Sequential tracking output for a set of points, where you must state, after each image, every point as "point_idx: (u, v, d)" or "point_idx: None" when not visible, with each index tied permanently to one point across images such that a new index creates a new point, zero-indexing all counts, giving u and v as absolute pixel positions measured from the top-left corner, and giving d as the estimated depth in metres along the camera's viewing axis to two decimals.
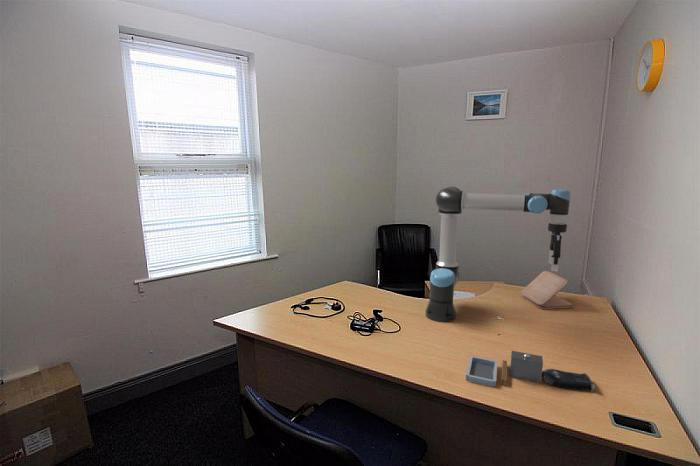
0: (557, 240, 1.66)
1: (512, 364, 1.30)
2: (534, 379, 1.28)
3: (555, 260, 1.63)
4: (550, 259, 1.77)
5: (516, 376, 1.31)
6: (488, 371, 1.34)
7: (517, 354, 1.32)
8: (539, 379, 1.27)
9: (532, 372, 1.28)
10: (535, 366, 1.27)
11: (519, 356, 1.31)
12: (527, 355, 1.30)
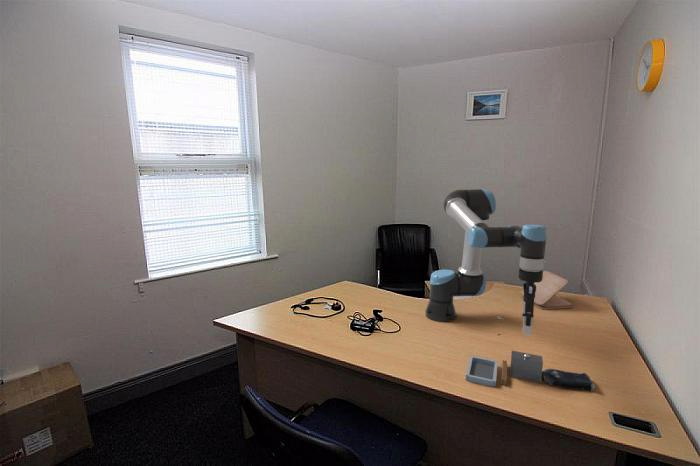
0: None
1: (512, 364, 1.30)
2: (534, 379, 1.28)
3: (527, 320, 1.21)
4: None
5: (516, 376, 1.31)
6: (488, 371, 1.34)
7: (517, 354, 1.32)
8: (539, 379, 1.27)
9: (532, 372, 1.28)
10: (535, 366, 1.27)
11: (519, 356, 1.31)
12: (527, 355, 1.30)
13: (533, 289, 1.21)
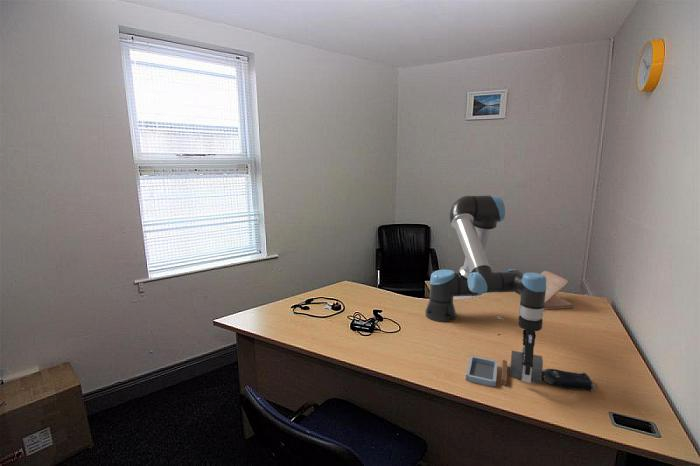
0: None
1: (512, 364, 1.30)
2: (534, 379, 1.28)
3: (526, 369, 1.23)
4: None
5: (516, 376, 1.31)
6: (488, 371, 1.34)
7: (517, 354, 1.32)
8: (539, 379, 1.27)
9: (532, 371, 1.28)
10: (535, 366, 1.27)
11: (519, 356, 1.31)
12: None
13: (533, 339, 1.22)
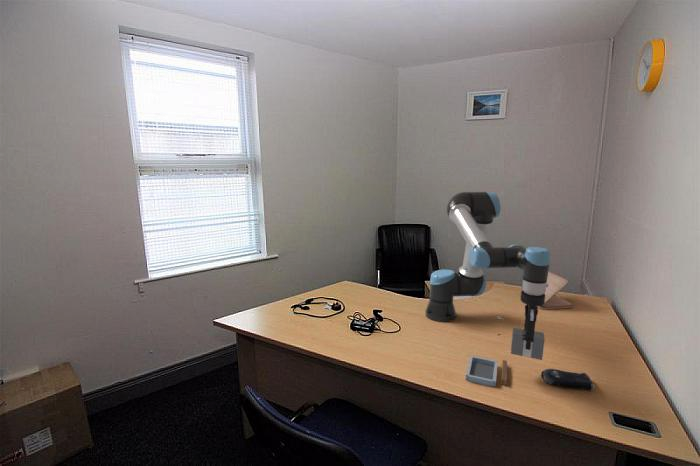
0: None
1: (513, 341, 1.29)
2: (535, 356, 1.27)
3: (527, 344, 1.26)
4: None
5: (517, 353, 1.29)
6: (488, 371, 1.34)
7: (519, 330, 1.31)
8: (540, 355, 1.26)
9: (533, 348, 1.27)
10: (536, 342, 1.26)
11: (520, 332, 1.29)
12: None
13: (534, 318, 1.21)
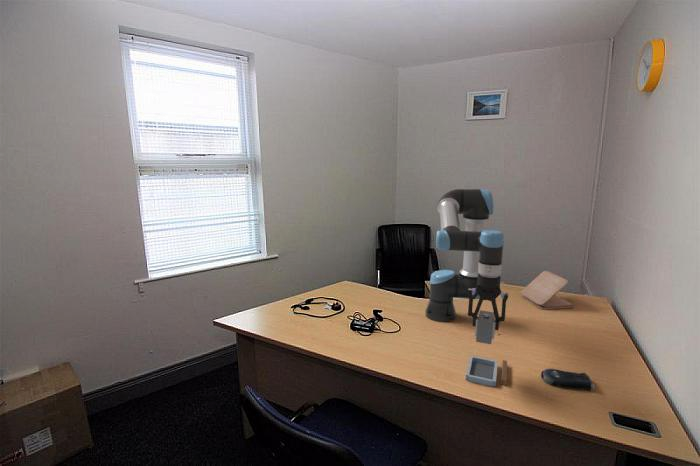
0: None
1: None
2: None
3: (473, 320, 1.32)
4: None
5: None
6: (488, 371, 1.34)
7: (488, 313, 1.32)
8: (476, 337, 1.28)
9: None
10: None
11: (484, 313, 1.32)
12: (485, 314, 1.30)
13: None
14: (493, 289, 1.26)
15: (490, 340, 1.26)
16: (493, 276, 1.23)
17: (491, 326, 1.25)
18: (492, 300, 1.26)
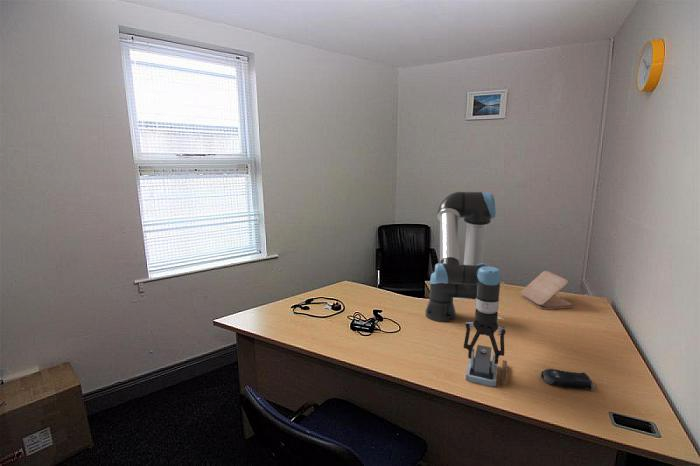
0: (476, 328, 1.32)
1: None
2: None
3: None
4: None
5: None
6: None
7: (485, 348, 1.35)
8: (474, 372, 1.31)
9: None
10: None
11: (481, 348, 1.35)
12: (482, 350, 1.32)
13: None
14: (490, 325, 1.29)
15: (487, 377, 1.28)
16: (490, 312, 1.26)
17: (488, 363, 1.27)
18: (489, 335, 1.29)
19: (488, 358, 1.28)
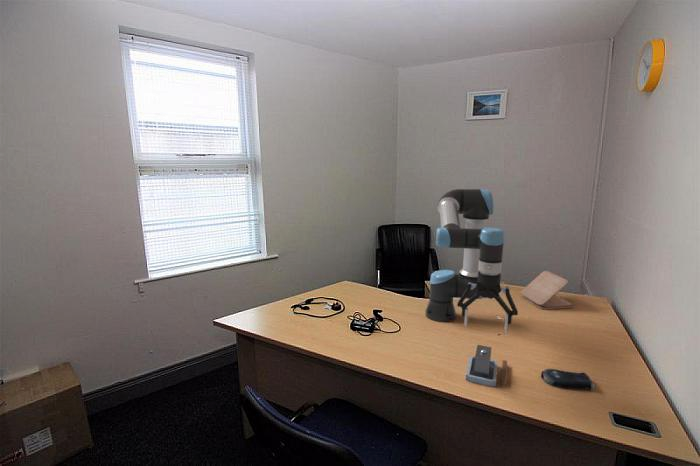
0: (478, 291, 1.29)
1: None
2: None
3: (462, 310, 1.33)
4: None
5: None
6: None
7: (485, 348, 1.35)
8: (474, 372, 1.31)
9: None
10: None
11: (481, 348, 1.35)
12: (482, 350, 1.32)
13: (468, 284, 1.30)
14: (492, 288, 1.26)
15: (487, 377, 1.28)
16: (493, 274, 1.23)
17: (488, 363, 1.27)
18: None
19: (488, 358, 1.28)
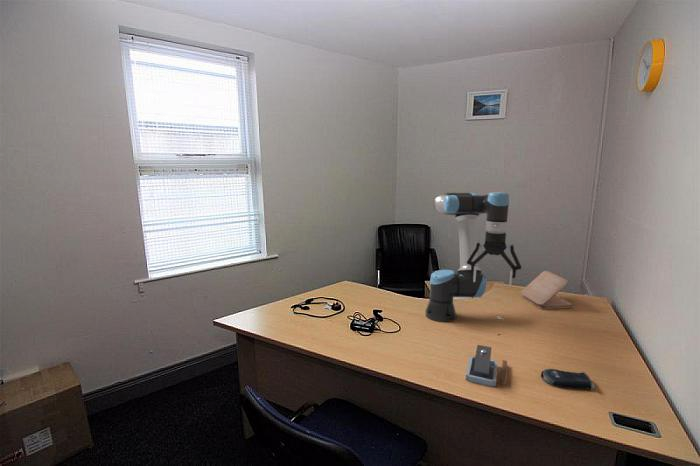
0: None
1: None
2: None
3: (471, 268, 1.49)
4: None
5: None
6: None
7: (485, 348, 1.35)
8: (474, 372, 1.31)
9: None
10: None
11: (481, 348, 1.35)
12: (482, 350, 1.32)
13: (476, 243, 1.45)
14: (498, 246, 1.42)
15: (487, 377, 1.28)
16: (499, 232, 1.39)
17: (488, 363, 1.27)
18: (498, 254, 1.42)
19: (488, 358, 1.28)
